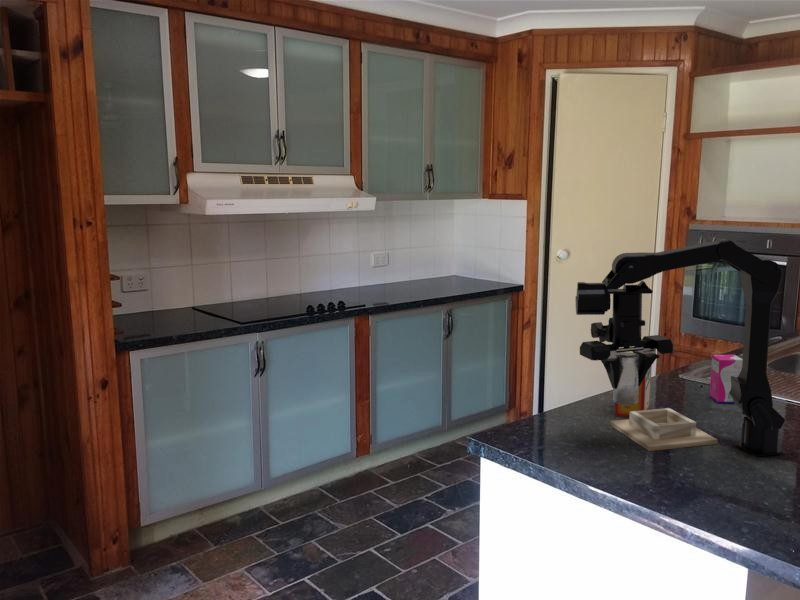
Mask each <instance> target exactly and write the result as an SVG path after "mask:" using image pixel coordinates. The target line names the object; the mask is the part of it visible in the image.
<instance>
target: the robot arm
mask: <svg viewBox="0 0 800 600" xmlns="http://www.w3.org/2000/svg"><path fill="white" fill-rule="evenodd" d="M718 261H719V262H720V261H723V262H724V263H726V264H727V265H728V266H730V267H731V268H733V269H734V270H736V271H737V272H739V275H740V284H741V289H742V291H743V295H744V300H745V317H744V330H743V331H744V332H743V345H742V346H743V350H742V359H743V361H742V370H741V372H740V374H739V376H738V377H735V376H731V390H730V392H729V394H730V395H731V396H732V397H733V401H734V403H735V404H734V405H736V406H737V407H738V408H739V410H741V413H742V414H743V422H742V427H741V428H742V430H741V442H735V446H736V447H738V448H739V449H741V450H744V451H745V452H747V453H749V454H750V455H753V456H755V457H764V456H765V457H767V456H776V455H783V454H784V450H782V449H780V448H778V445H779V444H778V443H779V431H780V430H781V429H782V427H783V425H784V423H785V421H786V420H785V418H784V417H783V416H782V414H780V413H779V412H778V411H777V409H775V408H774V402H773V395H772V394H773V393H772V389H771V385H770V382H769V378H768V374H767V372H768V371H767V369H768V358H769V357H768V356H769V342H770V341H769V340H770V330H771V329H770V328H771V327H770V326H771V315H772V314H771V313H772V304H773V303H774V300H775V298H776V296H777V295H778V293H779V290H780V286H781V284H782V279H783V270H782V267H781V266H780V265H779V264H778V262H776V261H774V260H771V259H769V258H764V257H760V256H756V255H755V254H753V253H751V252H749V251H747V250H746V249H743V247H740V246H739V245H738V244H736V243H735V242H734V241H732V240H729V239H727V238H726V239H725V238H718V239H716V240H713V241H709V242H708V241H707V242H703V243H699V244H694V245H689V246H684V247H683V246H682V247H679V248H673V249H668V250H664V251H659V252H657V251H656V252H622V253H620V254H618V255H617V256H615V258H614V259H613V261H612V263H611V270H610V271H609V272H608V274H607V275H606V276H605V277H604V279H603V280H602V281H601V282H585V281H582V282H581V281H579V282H577V283H576V284H577V285H576V295H575V315H577V316H582V315H583V316H587V315H588V316H589V315H590V316H593V315H596V316H597V315H599V316H603V315H605V313H606V312H608V311H609V310H611V305H612V317H609V318H608V324H606V325H603V323H602V322H601V321H599V322H593V323H591V324H590V335H591V337H592V339H596V338H597V339H598V340H591V341H588V340H587V341H583V342H582V343H581V345H580V346H579V355H580V356H581V357H583V358H586V359H588V360H591V361H600V362H601V363H602V364H603V367H604V369H605V371H606V374H607V377H608V380H609V383H610V385H611V388H612V389H613V388H614V389H617V385H618V376H619V366H620V360H619V359H617V358H616V353H619V352H630V351H633V353H635V354H638V355H639V380H638V386H640V384H641V383H642V381H643V379H644V377H645V375H646V373H647V372H648V370H649V368H650V367H651V365H653V364H654V362H655V361H656V359H660V357H661V356H660V354H661V355H664V354H665V355H666V354H674V352H675V350H674V349H675V347H674V346H675V345H674V342H673V341H672V339H671V338H668V337H665V336H662V335H659V334H654V335H653V334H652V335H645V336H643V338H642V327H645V326H646V320H645V319H642V316H643V315H642V314H643V313H642V312H643V310H642V309H643V294H644V295H645V294H650V295H651V294H652V293H653V289H651V288H650V286H648V285H647V282H645V281H644V280H647V279H650V278H652V277H653V276H655V275H657V274H659V273H663V272H667V271H671V270H677V269H683V268H688V267H692V266H697V265H704V264H707V263H713V262H718ZM635 283H638V284H635ZM611 295H612V298H611ZM611 299H612V304H611ZM605 342H606V343H605ZM607 342H608V344H607ZM609 343H610V344H609ZM631 346H634V347H631ZM622 347H624V348H622ZM657 352H658V353H659V354H657Z"/></svg>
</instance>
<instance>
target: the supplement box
mask: <svg viewBox="0 0 800 600" xmlns="http://www.w3.org/2000/svg"><path fill="white" fill-rule="evenodd" d="M742 361H743V358H742V357H739V356H738V355H736V354H711V362H710V363H711V365H710V367H711V368H710V388H709V389H710V390H709V398H711V399H712V400H713V401H714V402H715V403H717V404H719V405H720V404H721V405H722V404H723V405H724V404H725V405H726V404H728V405H729V404H730V405H732V404H733V405H736V404H735V403H734V401H733V397H732V396H731V395H730V394H729V392H730V390H731V376H735V377H738V376H739V374H740V372H741V370H742Z"/></svg>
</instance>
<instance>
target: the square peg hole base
mask: <svg viewBox="0 0 800 600" xmlns="http://www.w3.org/2000/svg"><path fill="white" fill-rule="evenodd" d="M609 426H611V427H612V428H614V429H615V430H617V431H618V432H620V433H621V434H622V435H624V436H625V437H627V438H629V440H630V439H631V440H632V441H633V442H634V443H635V444H638V445H639V446H640V447H642V448H644V449H646V450H647V452H652V451H653V452H655V451H663V450H664V451H665V450H674V449H681V448H690V447H700V446H711V445H717V444H718V441H719V440H718V438H716V437H714V436H712V435H710V434H708V433H707V432H705V431H702V430H701V429H700V428H697V421H695V420H693V419H690V418H688V416H685V415H684V414H682V413H680V412H678V411H675V410H673V409H672V408H670V407H666V408H665V407H664V408H654V409H653V408H652V409H649V410H641V411H630V415H629V417H628V418H627V419H615V420H609Z"/></svg>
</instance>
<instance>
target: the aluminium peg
mask: <svg viewBox="0 0 800 600" xmlns="http://www.w3.org/2000/svg"><path fill="white" fill-rule="evenodd" d="M616 358H617V359H619V360H620V366H619V376H618V385H617V389H614V388H612V389H613V392H612V393H613V394H612V395H613V396H612V401H613V402H614V403H618V404H623V405H633V404H637V403H638V380H639V355H638V354H635V353H629V352H619V353H616Z"/></svg>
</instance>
